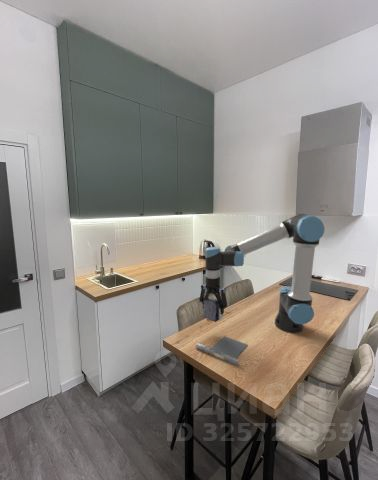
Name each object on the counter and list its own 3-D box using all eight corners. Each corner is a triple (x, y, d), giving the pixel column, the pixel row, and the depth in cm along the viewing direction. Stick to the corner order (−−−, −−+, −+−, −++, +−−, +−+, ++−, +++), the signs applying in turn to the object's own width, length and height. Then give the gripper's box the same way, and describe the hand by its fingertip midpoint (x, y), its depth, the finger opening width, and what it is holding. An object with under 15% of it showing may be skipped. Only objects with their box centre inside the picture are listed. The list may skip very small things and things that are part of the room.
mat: (247, 345, 124) (247, 344, 124) (234, 360, 112) (234, 360, 112) (224, 336, 132) (224, 335, 132) (209, 350, 120) (209, 349, 120)
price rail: (238, 363, 110) (238, 359, 110) (236, 366, 109) (237, 362, 108) (197, 346, 123) (197, 342, 122) (195, 348, 121) (195, 344, 121)
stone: (226, 320, 134) (217, 322, 126) (210, 319, 139) (200, 321, 131) (225, 298, 136) (216, 298, 128) (209, 297, 141) (200, 298, 133)
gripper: (234, 278, 127) (234, 319, 131) (199, 271, 139) (200, 309, 143) (227, 282, 121) (227, 325, 125) (192, 275, 133) (192, 314, 137)
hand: (213, 316), depth 134 cm, fingers closed on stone, 9 cm apart
